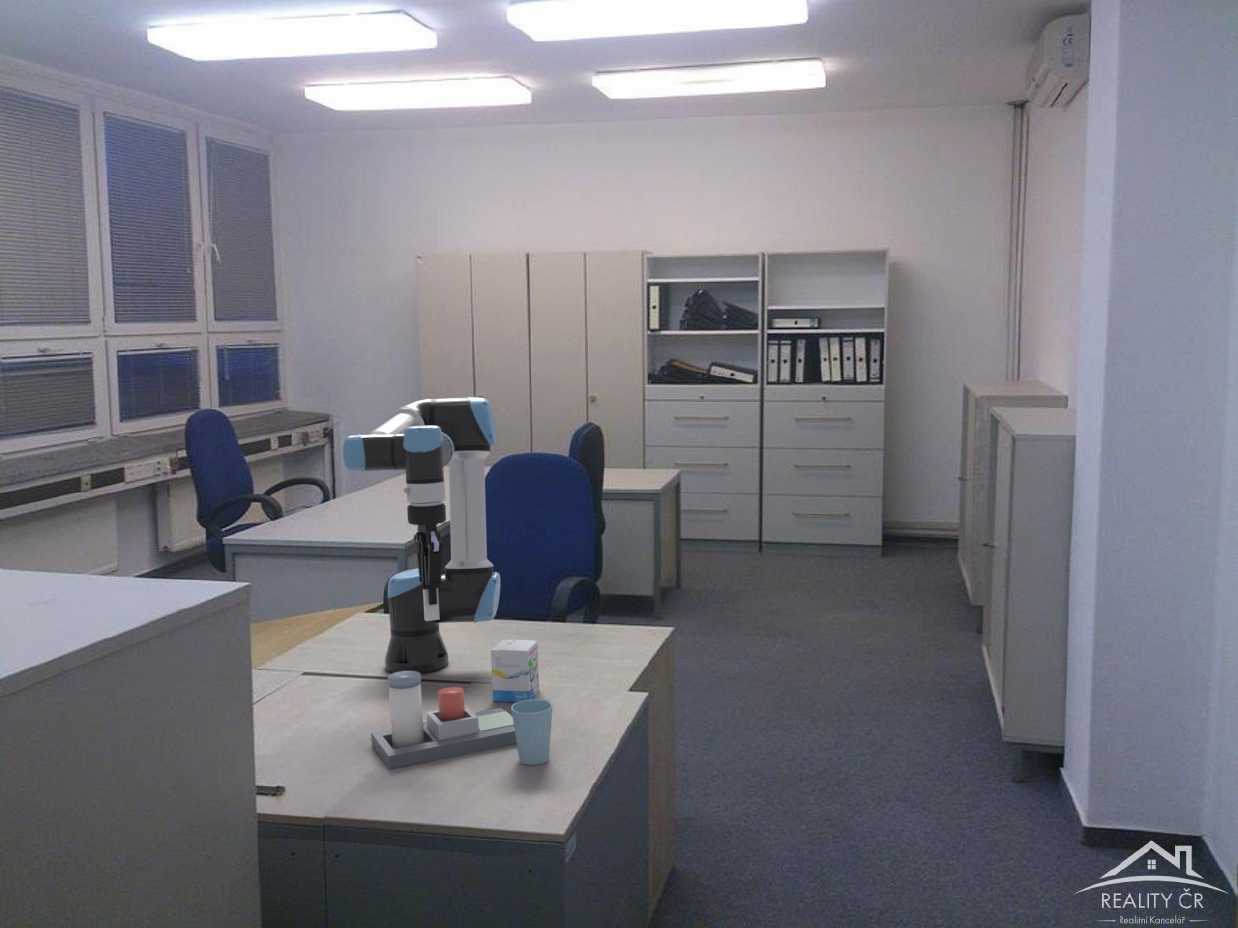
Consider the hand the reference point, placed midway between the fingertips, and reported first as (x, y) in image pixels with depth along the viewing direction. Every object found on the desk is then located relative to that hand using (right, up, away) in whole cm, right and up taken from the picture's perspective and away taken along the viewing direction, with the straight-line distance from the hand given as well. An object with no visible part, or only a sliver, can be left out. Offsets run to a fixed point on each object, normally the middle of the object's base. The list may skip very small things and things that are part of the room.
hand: (432, 619), depth 222 cm
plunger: (+5, -18, -6) cm, 20 cm away
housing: (+4, -23, -5) cm, 24 cm away
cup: (+22, -24, -15) cm, 36 cm away
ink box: (+15, -20, +21) cm, 33 cm away
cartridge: (-3, -24, -9) cm, 26 cm away
